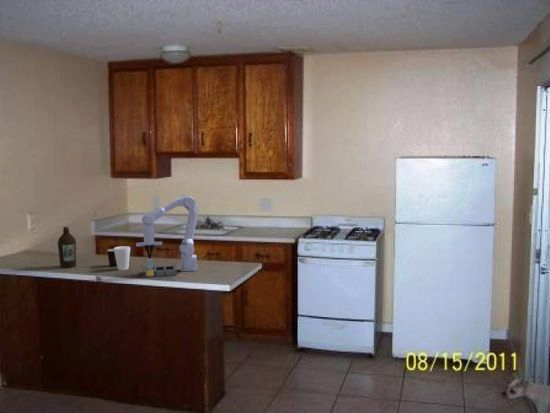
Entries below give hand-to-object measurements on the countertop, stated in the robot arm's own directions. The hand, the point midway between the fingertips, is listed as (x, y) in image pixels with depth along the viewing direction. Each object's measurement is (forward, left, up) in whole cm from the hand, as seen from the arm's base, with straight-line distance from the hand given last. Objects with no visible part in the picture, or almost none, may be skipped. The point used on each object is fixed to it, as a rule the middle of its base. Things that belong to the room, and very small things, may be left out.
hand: (149, 258), depth 331 cm
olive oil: (+51, -36, -10) cm, 63 cm away
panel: (0, 0, -9) cm, 9 cm away
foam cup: (+17, -20, -10) cm, 28 cm away
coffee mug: (+21, -31, -10) cm, 38 cm away
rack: (-5, 0, -9) cm, 11 cm away
